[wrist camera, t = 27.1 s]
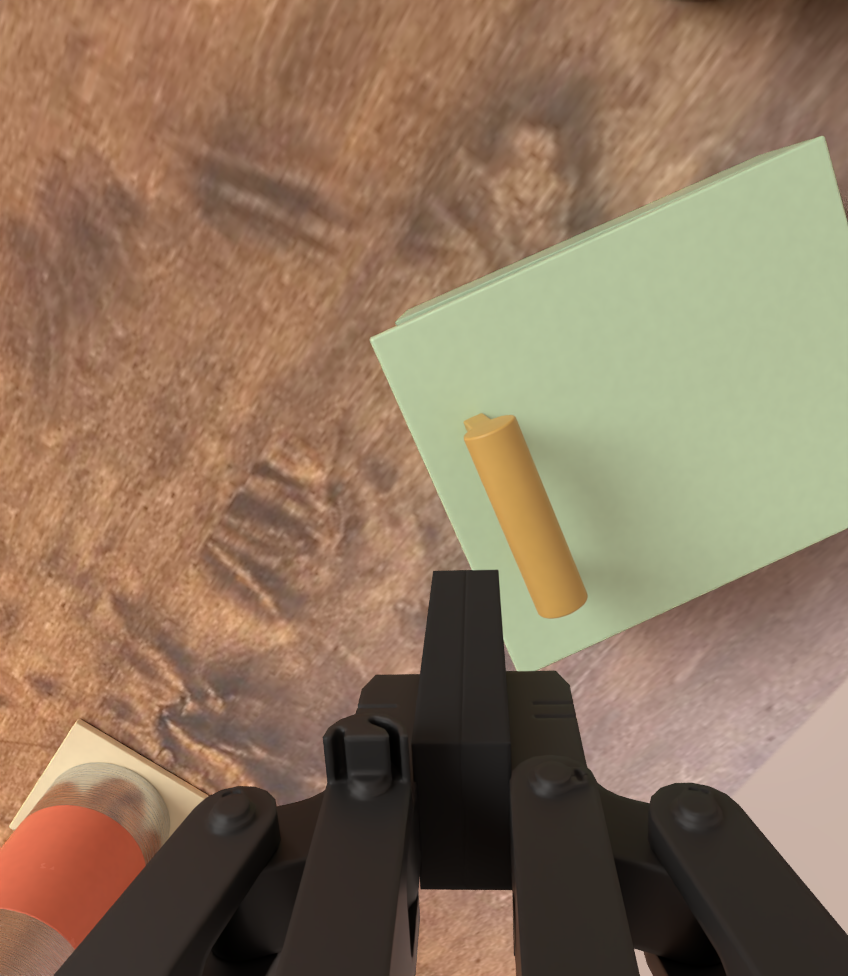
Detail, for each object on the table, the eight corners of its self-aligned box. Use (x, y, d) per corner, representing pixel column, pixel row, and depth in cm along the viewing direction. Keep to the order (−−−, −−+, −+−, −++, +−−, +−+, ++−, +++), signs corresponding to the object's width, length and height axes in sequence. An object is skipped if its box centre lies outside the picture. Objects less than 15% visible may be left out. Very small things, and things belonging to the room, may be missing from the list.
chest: (519, 574, 36) (525, 624, 31) (406, 310, 33) (394, 321, 28) (847, 454, 33) (907, 489, 28) (759, 155, 30) (812, 138, 25)
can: (193, 846, 41) (78, 1094, 29) (86, 881, 42) (-67, 1133, 30) (131, 744, 39) (-18, 962, 27) (21, 784, 40) (-168, 1009, 29)
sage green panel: (515, 668, 28) (550, 736, 24) (368, 338, 25) (376, 344, 21) (906, 490, 28) (1013, 524, 24) (810, 139, 25) (912, 103, 21)
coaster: (214, 798, 40) (212, 804, 40) (142, 896, 43) (139, 901, 42) (79, 717, 40) (75, 722, 39) (12, 822, 42) (8, 827, 41)
